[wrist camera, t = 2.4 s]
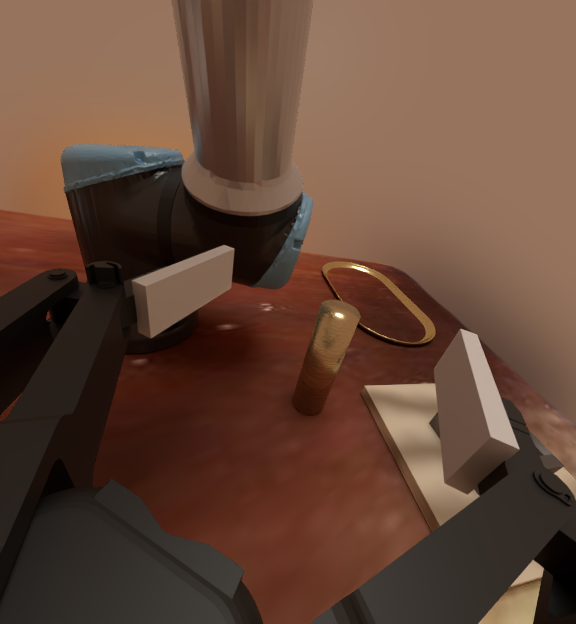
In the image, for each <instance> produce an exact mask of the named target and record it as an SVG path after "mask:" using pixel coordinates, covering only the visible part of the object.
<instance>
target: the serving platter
mask: <svg viewBox="0 0 576 624" xmlns="http://www.w3.org/2000/svg"><path fill="white" fill-rule="evenodd" d="M336 267H345V268H352V269H356V270H360V271H363V272H366V273H368V274H370V275H372V276H374V277H376V278H378V279H379V280H381V281H382V282H383V283H384V284H385V285H386V286H387V287H388V288H389V289H390V290H391V291H392V292H393V293H394V294H395V295H396V296H397V297H398V298H399V299H400V301H401V302H402V303H403V304H404V305H405V306H406V307H407V308H408V309H409V310H410V311H411V312H412V313H413V314H414V315H415V316H416V317H417V318H418V319H419V320H420V321H421V322H422V324H423V325H424V327H425V330H426V336H425V337H424V339H422V340H421V341H419V342H415V343H409V342H402V341H397V340H394V339H390V338H387V337H385V336H382V335H380V334H378V333H375V332H374V331H372V330H370V329H368V328H366V327H365V326H363V325H362V324H361V323H359V322H358V324H357V325H358V326H359V327H361V328H362V329H364V330H365V331H367V332H368V333H370V334H372V335H374V336H376V337H378V338H380V339H383V340H385V341H388V342H392V343H396V344H400V345H421V344H425V343H428V342H430V341H431V340H432V339H433V338H434V336H435V327H434V325H433V323H432V322H431V320H430V319H429V318H428V317H427V316H426V315H425V314H424V313H423V312H422V311H421V310H420V309H419V308H418V307H417V306H416V305H415V304H414V303H413V302H412V301H411V300H410V299H409V298H408V297H407V296H405V295H404V294H403V293H402V292H401V291H400V290H399V289H398V288H397V287H396V286H395V285H394V284H393V283H392V282H391V281H390V280H389V279H388V278H387V277H385V276H384V275H382V274H380V273H379V272H377V271H375V270H373V269H370V268H368V267H365V266H362V265H358V264H354V263H349V262H330V263H327V264H325V265H324V266H323V268H322V272H323V275H324V277H325V278H326V280H327V281H328V283H329V285H330V286H331V288H332V289H333V291H334V293H335V294H336V296H337V297H338V299H339V301H342V299H341V298H340V296H339V294H338V293H337V291H336V290H335V288H334V287H333V285H332V283H331V282H330V280H329V279H328V277H327V271H328V270H330V269H332V268H336Z"/></svg>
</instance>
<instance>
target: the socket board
mask: <svg viewBox="0 0 576 624" xmlns="http://www.w3.org/2000/svg"><path fill="white" fill-rule="evenodd" d="M361 394H362V396H363V398H364V400H365V402H366V404H367V406H368V408H369V410H370V412H371V414H372V416H373V418H374V420H375V422H376V424H377V426H378V428H379V430H380V431H381V433H382V435H383V437H384V439H385V441H386V443H387V445H388V447H389V449H390V451H391V453H392V455H393V457H394V459H395V461H396V463H397V465H398V467H399V469H400V471H401V473H402V475H403V477H404V478H405V480H406V482H407V484H408V486H409V488H410V490H411V492H412V494H413V496H414V498H415V500H416V502H417V504H418V506H419V508H420V510H421V512H422V514H423V516H424V518H425V520H426V522H427V524H428V525H429V527H430V529H431V531H432V532H433V531H434V530H436V529H437V528H438V527H440V526H441V525H442V524H444V523H445V522H446V521H448V520H449V519H450V518H452V517H453V516H454V515H456V514H457V513H458V512H460V511H461V510H462V509H464V508H465V507H466V506H468V505H469V504H470V503H471V502H473V501H474V500H475V499H477V498H478V497H479V496H480V494H479V489H478V486H477V487H476V488H475V489H474V490H473V491H471V492H470V493H469V494H468V495H467V494H465V493H463V492H461V491H459V490H457V489H455V488H453V487H451V486H449V485H447V484H445V483H444V475H443V464H442V453H441V441H440V430H439V419H438V408H437V397H436V386H435V384H407V385H375V386H364V388H363V390H362V392H361ZM529 433H530V436H531V437H532V440H533V442H534V444H535V447H536V449H537V451H538V453H539V456H540V458H541V460H542V463H543V465H544V467H545V468H547V469H549V470H550V471H551V472H553V473H554V474H555V475H557V476H558V477H559V478H560V479H561V480H562V481H563V482H564V483H565V484H566V485H567V486H568V487H569V489H570V490H571V492H572V493H573V494H574V496H575V499H576V480H575V479H574V478H573V477H572V476H571V475H570V474H569V473H568V472H567V471H566V470H565V468H564V465H563V464H562V463H561V462H560V461H559V460H558V459H557V458H556V457H555V456H554V455H553V454H552V453H551V452H550V451H549V450H548V449H547V448H546V447H545V446H544V445H543V444H542V443H541V442H540V441H539V440H538V439H537V438H536V437H535V436H534V435H533V434H532V433H531V432H530V431H529ZM543 570H544V568H543V567H542V566H540V565H539V564H538V563H537V562H535V561H534V560H532V562H531V563H530V564H529V565H528V566H527V567H526V569H525V570H524V571H523V572H522V573H521V574H520V576H519V577H518V578H517V579H516V580H515V581H514V582H513V584H512V585H511V586H510V587H509V588H511V587H514V586H517V585H521V584H524V583H527V582H530V581H534V580H537V579H540V578H542V575H543Z"/></svg>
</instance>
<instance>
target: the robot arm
mask: <svg viewBox="0 0 576 624" xmlns="http://www.w3.org/2000/svg"><path fill="white" fill-rule="evenodd" d="M172 6H173V12H174V19H175V26H176V32H177V38H178V45H179V52H180V58H181V64H182V71H183V78H184V84H185V90H186V97H187V103H188V110H189V116H190V123H191V129H192V135H193V142H194V149H195V151H194V152H193V153H192V154H191V155H190V156H189V157H188V158H187V159H186V161H184V159H183V157H182V154H181V152H180V151H178V150H173V149H168V148H158V147H144V146H126V145H99V144H79V145H72V146H69V147H67V148H66V149H65V150H64V151H63V153H62V155H61V165H62V171H63V177H64V183H65V187H64V191H65V193H66V197H67V201H68V205H69V209H70V212H71V216H72V220H73V224H74V228H75V232H76V236H77V239H78V243H79V247H80V251H81V255H82V259H83V263H84V266H85V270H86V275H87V282H86V283H83V282H78V278H77V274H76V272H74V271H72V270H68V269H52V270H49V271H45V272H43V273H40V274H39V275H37V276H35V277H34V278H32V279H30V280H29V281H27V282H25V283H23V284H22V285H20V286H18V287H17V288H15V289H13V290H12V291H10V292H8V293H6V294H5V295H3V296H1V297H0V414H1V413H2V412H3V411H4V410H5V409H6V408H7V407H8V406H9V405H10V404H11V403H12V402H13V401H14V400H15V399H16V398H17V397H18V396H19V395H20V394H21V393H22V394H21V396H20V397H19V399H18V401H17V402H16V404H15V405H14V407H13V409H12V410H11V412H10V414H9V415H8V417H7V418H6V419H5V420H4V421H1V422H0V624H263V622H262V618H261V615H260V613H259V610H258V608H257V606H256V603H255V601H254V599H253V597H252V596H251V594H250V592H249V590H248V589H247V588H246V586H245V585H244V583H243V582H242V581H241V579H242V576H243V573H244V570H245V569H243V568H242V567H240V566H239V565H237V564H236V563H234V562H233V561H232V560H230V559H229V558H227V557H226V556H224V555H223V554H221V553H220V552H218V551H217V550H216V549H214V548H213V547H211V546H210V545H208V544H204V543H200V542H197V541H193V540H189V539H185V538H182V537H178V536H174V535H170V534H167V533H166V532H164V531H163V530H162V528H161V527H160V525H159V524H158V522H157V521H156V519H155V518H154V517H153V515H152V514H151V512H150V511H149V509H148V508H147V506H146V505H145V503H144V502H143V500H142V499H141V498H140V497H138V496H137V495H135V494H134V493H133V492H131V491H130V490H128V489H127V488H125V487H124V486H122V485H121V484H119V483H118V482H116V481H115V480H114V479H111V480H110V481H109V482H108V483H107V484H106V485H105V486H104V487H103V488H102V487H93V469H94V464H95V460H96V457H97V453H98V450H99V446H100V442H101V439H102V435H103V432H104V428H105V424H106V421H107V417H108V413H109V410H110V406H111V403H112V399H113V395H114V392H115V388H116V384H117V381H118V377H119V374H120V370H121V366H122V363H123V359H124V356H125V353H127V354H137V353H147V352H153V351H158V350H161V349H165V348H168V347H170V346H173V345H175V344H177V343H179V342H181V341H182V340H184V339H185V338H186V337H188V336H189V335H190V334H191V333H192V331H193V330H194V329H195V327H196V324H197V309H199V308H200V307H202V306H203V305H205V304H206V303H208V302H210V301H211V300H213V299H214V298H216V297H218V296H219V295H221V294H222V293H224V292H226V291H227V290H229V289H230V288H231V283H232V282H234V283H238V284H242V285H246V286H250V287H252V288H255V287H261V288H267V289H279V288H282V287H283V286H284V285H285V284H286V283H287V282H288V280H289V278H290V277H291V274H292V272H293V270H294V267H295V265H296V262H297V260H298V257H299V254H300V251H301V245H302V244H303V241H304V238H305V236H306V232H307V229H308V225H309V222H310V217H311V214H312V208H313V200H312V198H311V197H310V196H308V195H307V194H305V193H304V192H302V189H303V177H302V174H301V172H300V170H299V168H298V167H297V165H296V164H295V163H294V162H293V161H292V159H291V157H292V150H293V143H294V136H295V128H296V122H297V114H298V107H299V100H300V92H301V86H302V78H303V70H304V64H305V56H306V50H307V42H308V35H309V28H310V21H311V13H312V6H313V0H172ZM48 311H49V313H50V316H51V317H50V318H49V319H48V320H46V315H47V312H48ZM434 375H435V386H436V397H437V408H438V419H439V430H440V441H441V453H442V464H443V475H444V483H445V484H447V485H449V486H451V487H453V488H455V489H457V490H459V491H461V492H463V493H465V494H467V495H468V494H469V493H470V492H471V491H473V490H474V489H475V488H476V487H477V486H478V489H479V494H480V496H479V497H478V498H477V499H475V500H474V501H473V502H471V503H470V504H469V505H468V506H466V507H465V508H464V509H462V510H461V511H460V512H458V513H457V514H456V515H454V516H453V517H452V518H450V519H449V520H448V521H446V522H445V523H444V524H442V525H441V526H440V527H438V528H437V529H436V530H434V531H433V532H432V533H431V534H429V535H428V536H427V537H425V538H424V539H423V540H421V541H420V542H419V543H417V544H416V545H415V546H413V547H412V548H411V549H409V550H408V551H407V552H405V553H404V554H403V555H401V556H400V557H399V558H398V559H396V560H395V561H394V562H392V563H391V564H390V565H388V566H387V567H386V568H384V569H383V570H382V571H380V572H379V573H378V574H376V575H375V576H374V577H372V578H371V579H370V580H368V581H367V582H366V583H364V584H363V585H362V586H361V587H359V588H358V589H357V590H355V591H354V592H352V593H351V594H350V595H348V596H346V597H345V598H343V599H342V600H340V601H339V602H338V603H336V604H335V605H334V606H332V607H331V608H330V609H328V610H327V611H326V612H324V613H323V614H322V615H320V616H319V617H318V618H316V619H315V620H314V621H312V622H311V623H310V624H478V623H479V622H480V621H481V619H482V618H483V617H484V616H485V615H486V614H487V612H488V611H489V610H490V609H491V608H492V607H493V606H494V604H495V603H496V602H497V601H498V600H499V599H500V597H501V596H502V595H503V594H504V593H505V592H506V591H507V589H508V588H509V587H510V586H511V585H512V584H513V582H514V581H515V580H516V579H517V578H518V577H519V576H520V574H521V573H522V572H523V571H524V570H525V569H526V567H527V566H528V565H529V564H530V563H531V562H532V560H534V561H535V562H537V563H538V564H539V565H540V566H542V567H543V568H544V570H543V575H542V581H541V586H540V591H539V596H538V601H537V606H536V612H535V617H534V622H533V624H576V499H575V496H574V494H573V493H572V492H571V490H570V489H569V487H568V486H567V485H566V484H565V483H564V482H563V481H562V480H561V479H560V478H559V477H558V476H557V475H555V474H554V473H553V472H551V471H550V470H549V469H547V468H545V467H544V465H543V463H542V460H541V458H540V456H539V453H538V451H537V449H536V447H535V444H534V442H533V440H532V437H531V436H530V433H529V430H528V428H527V427H526V423H525V421H524V419H523V417H522V414H521V413H520V411H519V410H518V409H517V408H516V407H515V405H514V404H513V403H512V402H511V401H509V400H506V399H504V398H501V397H500V395H499V393H498V390H497V387H496V384H495V382H494V379H493V376H492V374H491V371H490V368H489V366H488V363H487V360H486V358H485V355H484V352H483V350H482V347H481V344H480V341H479V339H478V336H477V335H476V334H474V333H471V332H468V331H465V330H462V329H460V330H459V332H458V333H457V335H456V336H455V338H454V339H453V341H452V342H451V344H450V345H449V347H448V348H447V350H446V351H445V353H444V354H443V356H442V357H441V359H440V360H439V362H438V363H437V365H436V366H435V368H434Z"/></svg>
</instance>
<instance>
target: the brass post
mask: <svg viewBox="0 0 576 624" xmlns="http://www.w3.org/2000/svg"><path fill="white" fill-rule="evenodd" d="M359 319H360V313H359V311H358V310H357V309H356V308H355V307H353V306H352V305H350V304H348V303H346V302H343V301H339V300H326V301H324V302H322V304H321V306H320V309H319V313H318V316H317V319H316V323H315V326H314V329H313V332H312V336H311V339H310V342H309V346H308V349H307V352H306V355H305V359H304V362H303V365H302V368H301V372H300V375H299V378H298V382H297V385H296V388H295V391H294V395H293V399H292V401H293V405H294V406H295V408H296V409H297V410H298V411H299V412H301V413H302V414H305V415H308V416H314V415H317V414H319V413H320V412H321V411H322V409H323V407H324V404H325V402H326V400H327V397H328V395H329V392H330V390H331V387H332V385H333V383H334V380H335V378H336V375H337V373H338V370H339V368H340V366H341V363H342V361H343V358H344V356H345V353H346V351H347V348H348V346H349V344H350V341H351V339H352V336H353V334H354V331H355V329H356V327H357V324H358V322H359Z"/></svg>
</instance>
